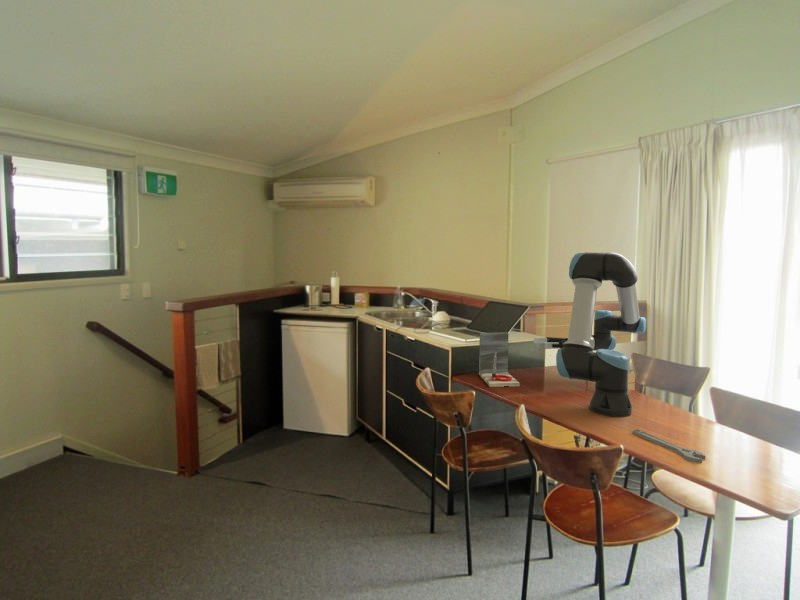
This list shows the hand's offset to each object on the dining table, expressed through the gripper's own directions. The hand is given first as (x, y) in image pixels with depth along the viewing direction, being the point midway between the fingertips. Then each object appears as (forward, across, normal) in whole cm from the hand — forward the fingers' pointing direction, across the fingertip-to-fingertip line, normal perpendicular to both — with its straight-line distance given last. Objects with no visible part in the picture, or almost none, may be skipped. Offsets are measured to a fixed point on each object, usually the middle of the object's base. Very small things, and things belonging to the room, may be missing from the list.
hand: (539, 342), depth 223 cm
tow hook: (+17, +2, -18) cm, 25 cm away
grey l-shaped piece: (+18, +5, -19) cm, 26 cm away
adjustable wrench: (-14, -76, -21) cm, 80 cm away
